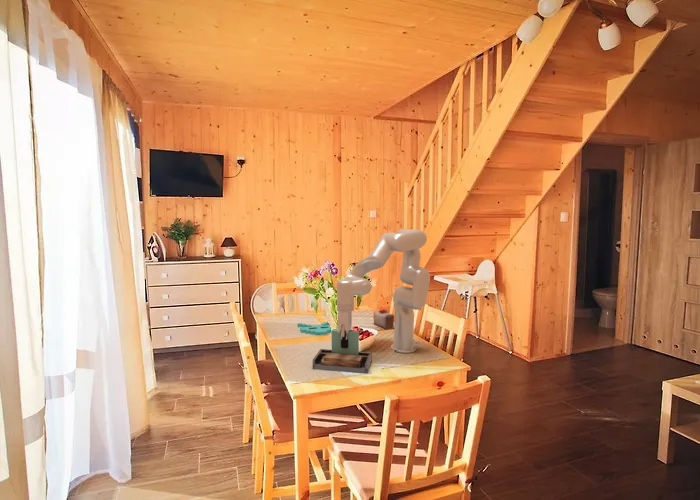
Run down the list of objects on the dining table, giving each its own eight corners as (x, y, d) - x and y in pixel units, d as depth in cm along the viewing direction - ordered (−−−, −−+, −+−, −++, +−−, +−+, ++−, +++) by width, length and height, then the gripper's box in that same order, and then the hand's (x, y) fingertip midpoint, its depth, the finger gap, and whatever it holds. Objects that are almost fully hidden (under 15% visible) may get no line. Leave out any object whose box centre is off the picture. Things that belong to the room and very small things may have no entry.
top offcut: (362, 359, 189) (362, 355, 189) (359, 364, 184) (359, 360, 183) (327, 356, 193) (327, 352, 193) (323, 360, 187) (323, 357, 187)
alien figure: (297, 326, 252) (303, 337, 233) (297, 323, 252) (303, 333, 233) (330, 324, 258) (339, 334, 239) (330, 320, 258) (339, 330, 239)
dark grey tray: (371, 363, 196) (371, 352, 195) (367, 375, 182) (367, 364, 181) (320, 359, 200) (320, 349, 200) (312, 371, 186) (312, 359, 186)
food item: (371, 324, 257) (371, 308, 256) (381, 322, 262) (382, 306, 261) (385, 330, 246) (385, 313, 245) (396, 327, 250) (396, 311, 249)
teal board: (358, 360, 195) (358, 330, 194) (357, 362, 193) (357, 332, 191) (332, 358, 198) (332, 329, 196) (331, 360, 195) (331, 330, 193)
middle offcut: (358, 361, 191) (359, 358, 190) (357, 366, 185) (357, 363, 185) (323, 359, 193) (323, 356, 193) (320, 364, 187) (320, 361, 187)
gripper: (340, 302, 201) (340, 340, 203) (333, 311, 185) (333, 352, 187) (356, 303, 199) (356, 341, 202) (350, 312, 184) (350, 353, 186)
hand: (345, 346), depth 194 cm, fingers closed on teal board, 2 cm apart
